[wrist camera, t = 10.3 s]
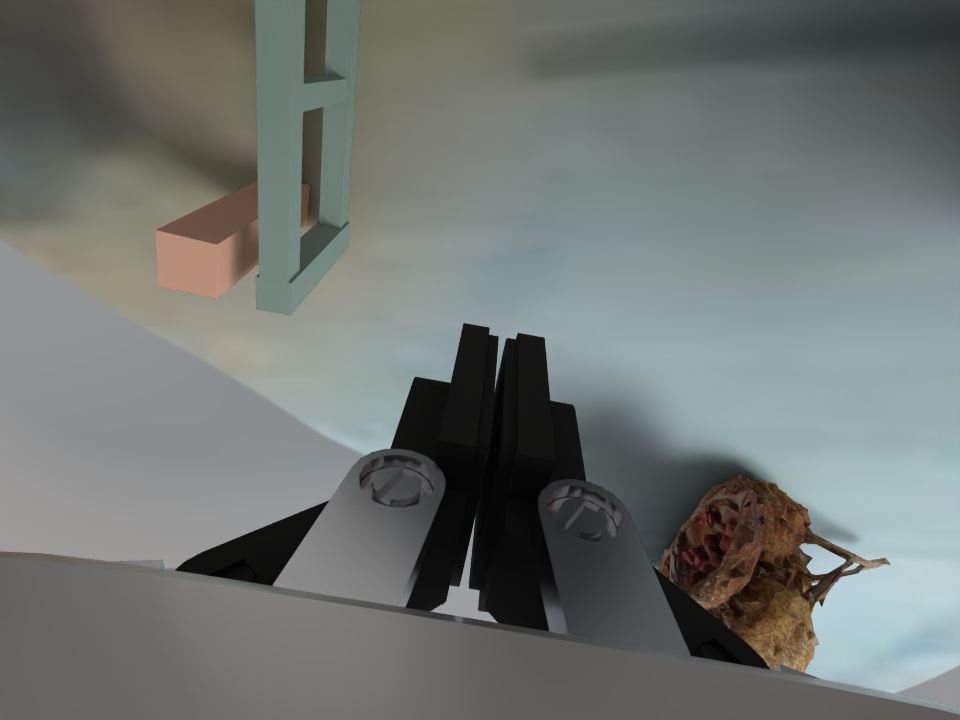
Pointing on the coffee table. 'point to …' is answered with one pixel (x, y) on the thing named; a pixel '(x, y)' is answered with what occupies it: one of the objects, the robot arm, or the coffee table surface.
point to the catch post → (214, 244)
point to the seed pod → (756, 568)
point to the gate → (280, 107)
